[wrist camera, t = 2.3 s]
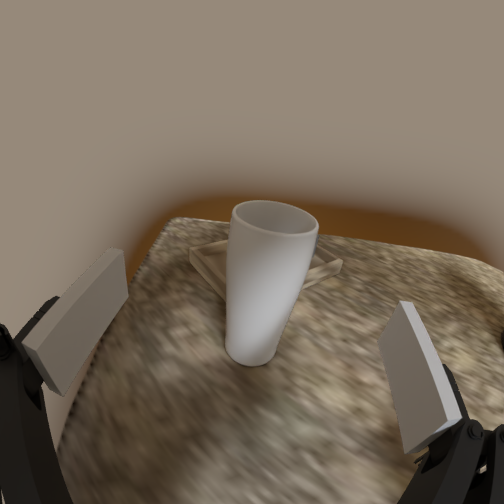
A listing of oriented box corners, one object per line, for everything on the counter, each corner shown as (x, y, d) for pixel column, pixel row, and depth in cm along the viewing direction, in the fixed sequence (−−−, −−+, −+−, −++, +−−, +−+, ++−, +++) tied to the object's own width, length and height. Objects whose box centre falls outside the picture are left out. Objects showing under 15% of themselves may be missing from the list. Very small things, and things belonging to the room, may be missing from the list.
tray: (286, 238, 53) (288, 227, 51) (339, 273, 44) (343, 260, 43) (189, 261, 41) (189, 247, 40) (238, 315, 32) (240, 299, 31)
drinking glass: (294, 358, 28) (338, 228, 20) (240, 385, 24) (269, 242, 17) (257, 319, 32) (281, 197, 25) (205, 338, 28) (214, 203, 21)
